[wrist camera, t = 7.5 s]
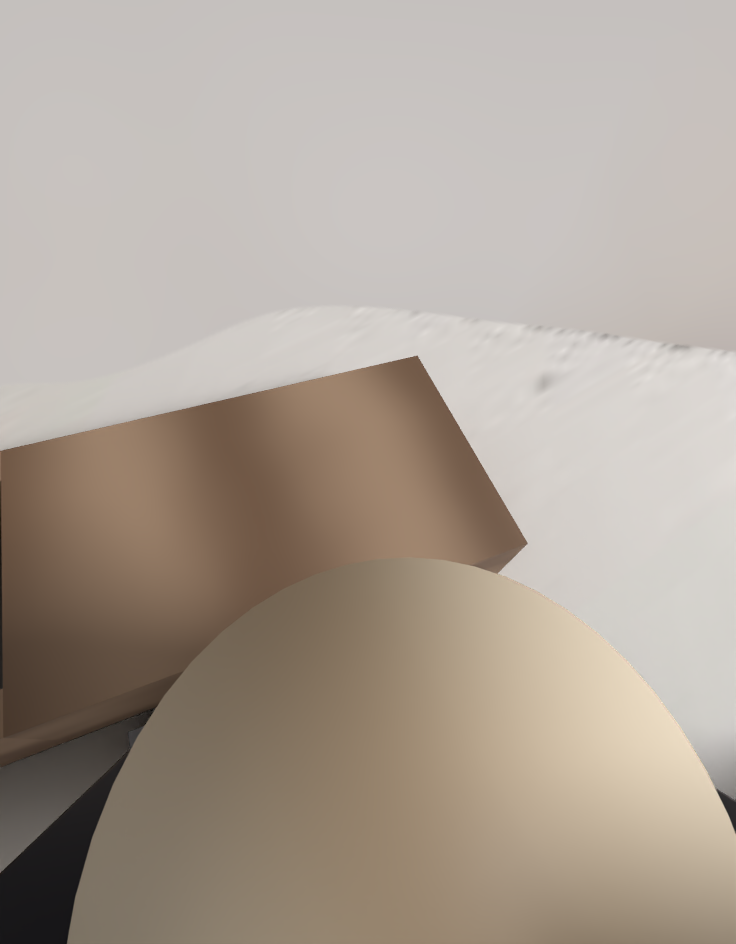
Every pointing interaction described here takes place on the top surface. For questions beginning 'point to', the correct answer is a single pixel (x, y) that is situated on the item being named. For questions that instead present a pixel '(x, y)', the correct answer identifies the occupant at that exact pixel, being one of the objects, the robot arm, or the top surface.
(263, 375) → the top surface
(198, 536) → the wooden track
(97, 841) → the birch cylinder
